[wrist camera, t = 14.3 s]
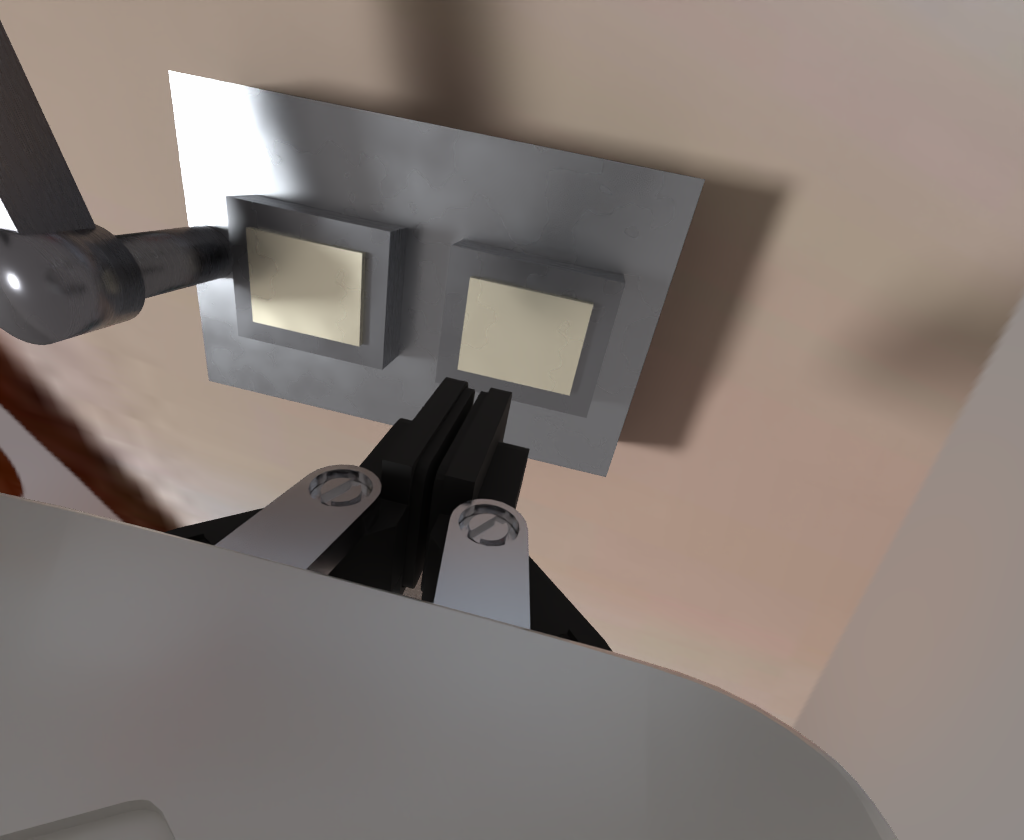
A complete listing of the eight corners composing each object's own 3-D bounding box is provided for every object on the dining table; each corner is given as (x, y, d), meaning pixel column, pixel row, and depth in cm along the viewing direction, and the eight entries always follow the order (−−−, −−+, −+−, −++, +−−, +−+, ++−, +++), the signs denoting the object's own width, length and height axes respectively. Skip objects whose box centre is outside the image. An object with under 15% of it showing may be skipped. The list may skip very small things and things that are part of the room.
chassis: (687, 179, 22) (743, 179, 13) (605, 439, 28) (607, 549, 20) (230, 86, 23) (21, 33, 15) (252, 355, 30) (115, 425, 21)
